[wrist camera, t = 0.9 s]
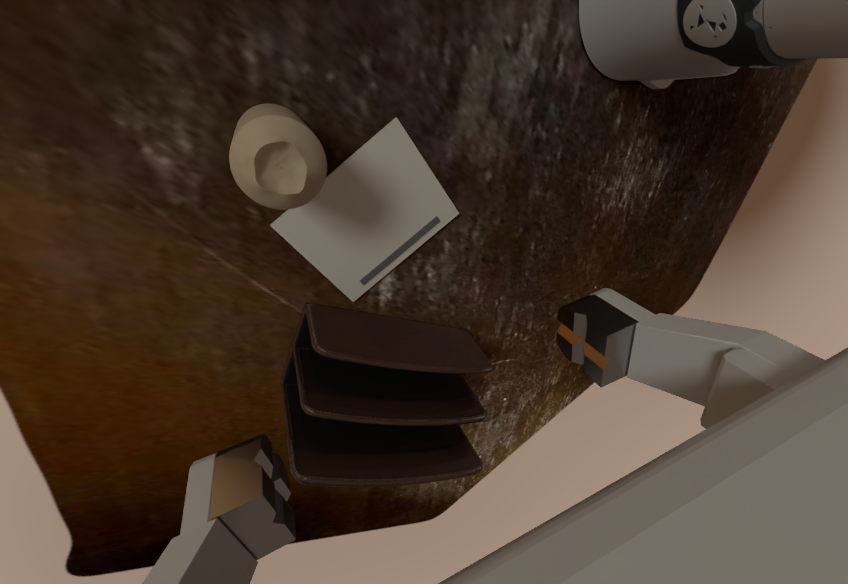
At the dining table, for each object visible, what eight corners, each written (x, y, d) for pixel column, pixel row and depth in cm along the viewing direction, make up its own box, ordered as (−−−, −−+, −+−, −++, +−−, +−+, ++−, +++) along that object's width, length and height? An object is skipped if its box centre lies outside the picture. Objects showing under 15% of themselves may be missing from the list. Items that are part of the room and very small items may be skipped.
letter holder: (434, 390, 51) (487, 484, 39) (279, 379, 41) (288, 500, 29) (466, 327, 47) (533, 410, 36) (304, 299, 37) (326, 401, 26)
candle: (324, 155, 32) (348, 186, 24) (267, 190, 31) (271, 234, 23) (282, 88, 28) (293, 97, 20) (217, 127, 28) (203, 151, 20)
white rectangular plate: (395, 117, 32) (397, 117, 32) (458, 212, 39) (459, 213, 38) (270, 224, 33) (270, 226, 32) (352, 300, 39) (353, 302, 39)
